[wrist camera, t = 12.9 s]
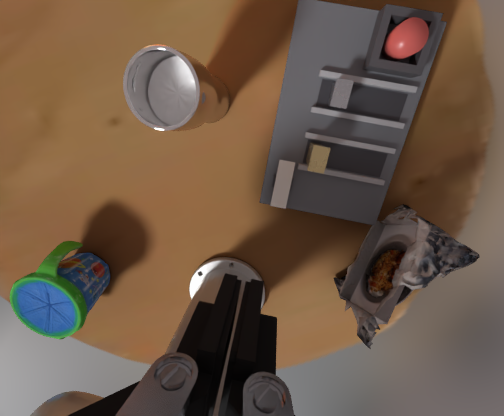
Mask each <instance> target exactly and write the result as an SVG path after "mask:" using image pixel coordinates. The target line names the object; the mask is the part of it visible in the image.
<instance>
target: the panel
mask: <svg viewBox="0 0 504 416" xmlns="http://www.w3.org/2000/svg"><path fill="white" fill-rule="evenodd" d="M442 15H443V13H438V12H432V11H426V10H420V9H414V8H408V7H402V6H396V5H390V4H386V5H385V6H384V7H383V8H382V9H381V10H380V11H378V10H372V9H366V8H360V7H354V6H347V5H341V4H335V3H329V2H323V1H317V0H299V1H298V6H297V11H296V16H295V22H294V27H293V32H292V37H291V42H290V47H289V53H288V58H287V63H286V68H285V73H284V79H283V84H282V89H281V94H280V99H279V104H278V110H277V115H276V120H275V125H274V130H273V136H272V141H271V146H270V151H269V156H268V162H267V167H266V172H265V177H264V182H263V187H262V193H261V198H260V203H264V204H269V205H271V200H272V195H273V190H274V185H275V180H276V175H277V170H278V165H279V160H285V161H290V162H295V167H294V172H293V177H292V181H291V186H290V191H289V195H288V200H287V205H286V208H289V209H294V210H299V211H304V212H309V213H314V214H319V215H325V216H330V217H335V218H340V219H345V220H350V221H355V222H360V223H365V224H370V225H375V224H376V221H377V218H378V215H379V213H380V210H381V207H382V204H383V201H384V199H385V196H386V193H387V190H388V187H389V184H390V182H391V179H392V176H393V173H394V170H395V167H396V165H397V162H398V159H399V156H400V153H401V150H402V148H403V145H404V142H405V139H406V136H407V134H408V131H409V128H410V125H411V122H412V119H413V117H414V114H415V111H416V108H417V105H418V102H419V100H420V97H421V94H422V91H423V88H424V86H425V83H426V80H427V77H428V74H429V71H430V69H431V66H432V63H433V60H434V57H435V54H436V52H437V49H438V46H439V43H440V40H441V38H442V35H443V32H444V29H445V26H446V23H447V22H444V21H441V18H442ZM412 17H417V18H420V19H422V20H424V21H425V22H426V24H427V26H428V29H429V36H428V40H427V42H426V44H425V45H424V47H423V48H422V49H421V50H420V51H419V52H417V53H415V54H413V55H411V56H408V57H406V58H404V59H402V60H400V61H396V62H394V61H389V60H387V59H386V58H385V57H384V56H383V53H382V46H383V43H384V39H385V36H386V35H387V34H388V33H389V32H390V31H392V30H393V29H394V28H395V27H397V26H398V25H399V24H401V23H402V22H403V21H405V20H406V19H409V18H412ZM336 78H340V79H346V80H352V81H354V82H353V86H352V90H351V93H350V97H349V101H348V104H347V108H346V109H343V108H337V107H332V106H329V105H328V102H329V98H330V94H331V90H332V86H333V83H335V80H336ZM310 142H311V143H316V144H321V145H323V146H325V147H330V148H331V149H330V153H329V156H328V160H327V164H326V168H325V171H324V174H322V173H317V172H312V171H307V167H308V165H307V163H306V158H307V154H308V149H309V145H310Z"/></svg>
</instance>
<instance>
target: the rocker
mask: <svg viewBox="0 0 504 416" xmlns="http://www.w3.org/2000/svg"><path fill="white" fill-rule="evenodd" d="M294 167H295V162H290V161H285V160H279V165H278V170H277V175H276V180H275V185H274V190H273V195H272V200H271V205H270V206H274V207H279V208H284V209H286V205H287V200H288V195H289V191H290V186H291V181H292V177H293V172H294Z"/></svg>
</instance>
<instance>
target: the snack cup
mask: <svg viewBox="0 0 504 416" xmlns="http://www.w3.org/2000/svg"><path fill="white" fill-rule="evenodd" d="M82 246H83V244H81V243H79V242H74V241H66V242H63V243H61V244H60V245H58V246H57V247H56V248H55V249H54V250H53V251H52V252H51V253H50V254H49V255H48V256H47V257H46V258H45V259H44V261H43V262H42V263H41V265H40V266H39V268H38V270H37V271H36V272H34V273H31V274H28V275H27V276H24V277H23V278H21V279H19V280H17V281H16V282H15V283H14V284H13V287H12V289H11V292H10V302H11V306H12V308H13V310H14V312H15V314H16V315H17V317H18V318H19V319H20V320H21V322H23V323H24V324H25V325H26V326H27V327H28V328H30V329H31V330H33V331H35V332H36V333H38V334H41V335H43V336H47V337H52V338H56V339H63V338H65V337H67V336H70V335H72V334H73V333H75V332H76V331H78V330H80V328H81V327H82V326H83V325H84V322H85V319H86V316H87V314H88V312H89V311H90V310H91V309H92V307H93V306H94V304H95V303H96V301H97V300H98V299H99V297H100V296H101V294H102V293H103V291H104V290H105V289H106V287H107V286H108V284H109V281H110V272H109V267H108V264H106V263H105V262H104V261H103V260H102V259H100V258H99V257H97V256H96V255H94V254H92V253H88V252H87V253H79V254H76V255H73V256H71V257H69V258H67V259H65V260H62V259H63V258H64V257H65V256H66V255H67V254H68V253H69V252H70V251H72V250H75V249H78V248H80V247H82ZM61 260H62V261H61Z"/></svg>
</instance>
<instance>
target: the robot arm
mask: <svg viewBox="0 0 504 416" xmlns="http://www.w3.org/2000/svg"><path fill="white" fill-rule="evenodd" d="M189 290H190V296H191V299H192V300H191V302H190V304H189V306H188V308H187V310H186V312H185V314H184V316H183V318H182V320H181V322H180V324H179V326H178V328H177V330H176V332H175V334H174V336H173V338H172V340H171V342H170V344H169V346H168V348H167V351H166V353H165V355H163V356H161V357H160V358H158V359H157V360H156V361H155V362H154V363H153V364H152V365H151V367H150V368H149V370H148V371H147V373H146V374H145V375H144V377H143V378H142V380H141V381H139V382H137V383H135V384H132V385H130V386H128V387H126V388H124V389H122V390H120V391H118V392H116V393H114V394H112V395H109V396H107V397H105V398H103V397H100V396H96V395H94V394H90V393H85V392H79V391H71V392H64V393H61V394H59V395H56V396H54V397H52V398H51V399H49V400H47V401H46V402H44V403H43V404H42V405H41V406H39V407H38V408H37V409H36V410H35V411H34V412H33V413H32V414H31V415H30V416H295V415H294V411H293V406H292V400H291V395H290V392H289V389H288V387H287V386H286V384H285V383H284V382H283V381H282V380H281V379H280V378H279V377H278V376H276V338H277V317H273V316H268V315H263V314H260V313H261V309H262V307H263V304H264V300H265V287H264V281H262V278H261V277H260V275H259V274H258V272H257V271H256V270H255V269H254V268H253V267H251V266H250V265H248V264H247V263H245V262H243V261H241V260H239V259H235V258H229V257H220V258H214V259H211V260H208V261H206V262H204V263H203V264H202V265H201V266H199V267H198V269H197V270H196V271H195V273H194V274H193V276H192V279H191V281H190V287H189Z"/></svg>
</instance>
